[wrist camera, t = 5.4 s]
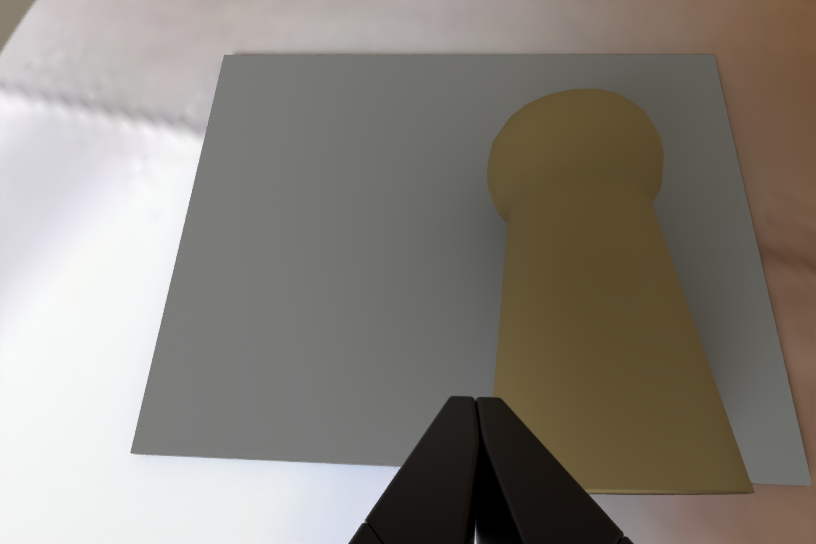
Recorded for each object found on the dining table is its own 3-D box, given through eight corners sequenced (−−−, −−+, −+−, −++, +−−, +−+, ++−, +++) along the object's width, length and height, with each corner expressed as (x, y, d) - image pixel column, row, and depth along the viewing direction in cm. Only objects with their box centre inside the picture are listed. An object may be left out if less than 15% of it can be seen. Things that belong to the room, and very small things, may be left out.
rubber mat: (803, 485, 16) (812, 485, 15) (136, 454, 17) (130, 453, 17) (709, 61, 22) (713, 54, 22) (227, 62, 23) (224, 55, 23)
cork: (602, 485, 10) (548, 22, 14) (441, 490, 15) (439, 150, 19) (818, 494, 12) (714, 93, 16) (614, 495, 17) (577, 190, 21)
